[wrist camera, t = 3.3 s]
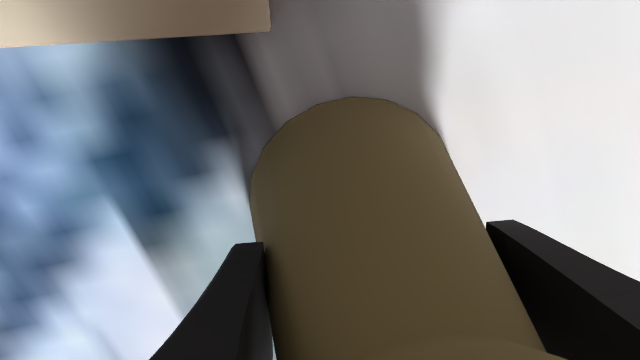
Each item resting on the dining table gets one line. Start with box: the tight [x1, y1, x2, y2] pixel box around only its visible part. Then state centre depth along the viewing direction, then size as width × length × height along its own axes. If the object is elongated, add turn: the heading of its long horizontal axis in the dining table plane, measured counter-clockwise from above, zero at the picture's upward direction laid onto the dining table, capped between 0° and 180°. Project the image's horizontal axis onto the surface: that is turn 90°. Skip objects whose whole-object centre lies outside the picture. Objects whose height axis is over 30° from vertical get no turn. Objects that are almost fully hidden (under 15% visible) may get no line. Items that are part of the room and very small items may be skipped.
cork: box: [250, 97, 567, 360], centre depth 9 cm, size 6×6×11 cm
